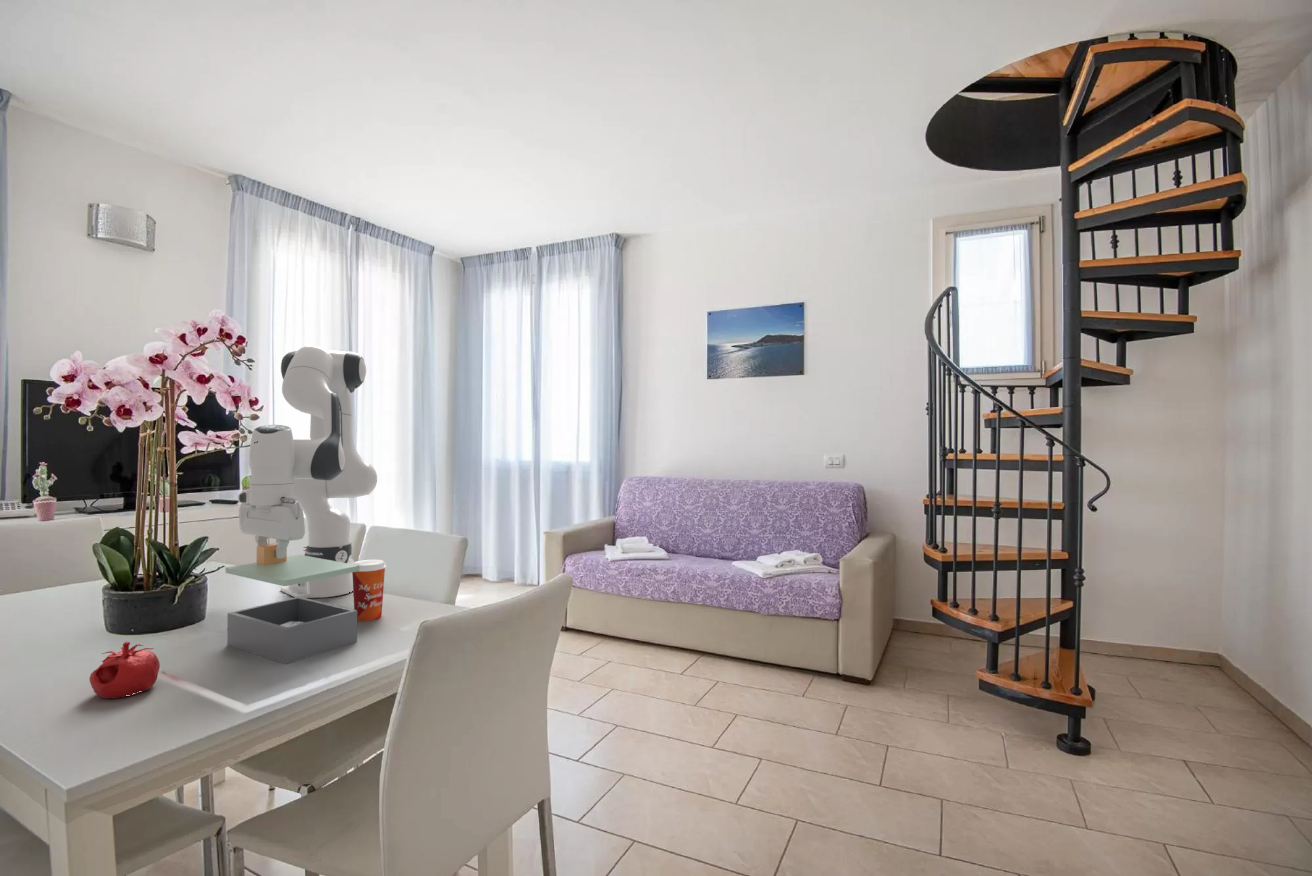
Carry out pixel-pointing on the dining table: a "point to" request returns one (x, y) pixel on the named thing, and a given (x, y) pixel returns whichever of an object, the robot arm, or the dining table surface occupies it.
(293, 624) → the steel part
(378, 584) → the coffee cup
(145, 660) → the red tomato
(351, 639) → the tub
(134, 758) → the dining table surface
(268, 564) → the lid
